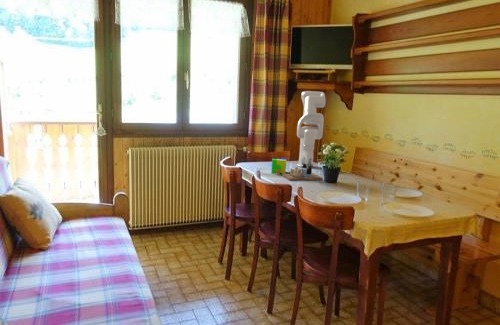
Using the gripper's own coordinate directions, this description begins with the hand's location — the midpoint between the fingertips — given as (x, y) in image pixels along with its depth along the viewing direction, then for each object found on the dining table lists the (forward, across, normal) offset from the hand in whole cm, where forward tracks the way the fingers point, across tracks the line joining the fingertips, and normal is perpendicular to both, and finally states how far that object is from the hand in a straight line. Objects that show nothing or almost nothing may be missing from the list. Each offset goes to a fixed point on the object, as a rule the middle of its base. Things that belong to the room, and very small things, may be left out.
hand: (306, 172), depth 272 cm
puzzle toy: (+4, -18, -14) cm, 23 cm away
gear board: (+4, 0, -3) cm, 5 cm away
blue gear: (+2, 0, 0) cm, 2 cm away
